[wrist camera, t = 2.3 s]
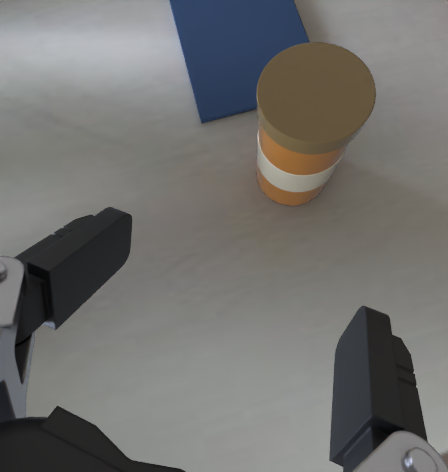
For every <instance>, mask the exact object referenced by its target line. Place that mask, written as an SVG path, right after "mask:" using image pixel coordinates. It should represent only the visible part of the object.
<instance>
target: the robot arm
mask: <svg viewBox="0 0 448 472" xmlns="http://www.w3.org/2000/svg"><path fill="white" fill-rule="evenodd" d="M131 231H132V216H131V215H130V214H128V213H126V212H123V211H120V210H118V209H115V208H113V207H108V208H106V209H104V210H103V211H101V212H100V213H98V214H97V215H95V216H93V215H88V216H85V217H81V218H78V219H75V220H73V221H72V222H70V223H69V224H67V225H65V226H64V228H61V229H59V230H57V231H56V232H54V234H53V235H52V234H51V235H49V236H48V237H46V238H45V239H43V240H41V241H40V242H38V243H37V244H35V245H33V246H32V247H30V248H29V249H27V250H25V251H24V252H22V253H21V254H19V255H17V256H16V257H14V258H12V257H8V256H0V472H185V471H183V470H181V469H178V468H172V467H166V466H161V465H155V464H149V463H144V462H138V461H133V460H131V459H129V458H128V457H126V456H125V455H124V454H123V453H122V452H121V451H120V450H119V449H118V448H117V447H116V446H115V445H114V444H113V442H112V441H111V440H110V439H109V438H108V437H107V436H106V435H105V434H104V433H103V432H102V431H101V430H100V429H99V428H98V427H97V426H96V425H94V424H92V423H90V422H88V421H86V420H84V419H82V418H80V417H78V416H76V415H74V414H72V413H70V412H68V411H66V410H65V409H63V408H61V407H59V406H57V407H56V408H55V409H54V411H53V412H52V413H51V414H50V415H49V417H48V418H47V417H26V393H27V385H28V379H29V372H30V366H31V360H32V353H33V347H34V340H35V330H36V329H37V328H39V327H40V326H41V325H42V324H44V325H46V326H48V327H50V328H52V329H54V330H56V329H57V328H58V327H59V326H61V325H62V324H63V323H64V322H65V321H66V320H67V319H68V318H69V317H70V316H71V315H72V314H73V313H74V312H75V311H76V310H77V309H78V308H79V307H80V306H81V305H82V304H83V303H85V302H86V301H87V300H88V299H89V298H90V297H91V296H92V295H93V294H94V293H95V292H96V291H97V290H98V289H99V288H100V287H101V286H102V285H103V284H104V283H105V282H106V281H107V280H109V279H110V278H111V277H112V276H113V275H114V274H115V273H116V272H117V271H118V270H119V269H120V268H121V267H122V266H123V265H124V264H125V262H126V260H127V258H128V256H129V253H130V246H131ZM413 372H414V369H413V364H412V359H411V354H410V353H409V351H408V349H407V348H406V346H405V344H404V343H403V341H402V339H401V338H399V337H396V336H394V335H392V331H391V324H390V318H389V316H388V315H386V314H384V313H381V312H379V311H376V310H374V309H371V308H368V307H366V306H361V307H360V308H359V310H358V311H357V313H356V314H355V316H354V317H353V319H352V320H351V322H350V323H349V325H348V326H347V328H346V330H345V331H344V333H343V334H342V336H341V337H340V339H339V342H338V344H337V348H336V352H335V363H334V382H333V401H332V420H331V439H330V458H329V460H330V461H332V462H334V463H336V464H338V465H340V466H342V467H343V472H448V466H447V465H446V463H445V461H444V460H443V459H442V457H441V456H440V454H439V453H438V452H437V451H436V450H435V449H434V448H433V447H432V446H431V445H430V444H429V443H428V441H427V436H426V431H425V426H424V421H423V415H422V410H421V405H420V400H419V395H418V390H417V388H416V379H415V374H413Z"/></svg>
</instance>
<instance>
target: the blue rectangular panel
mask: <svg viewBox="0 0 448 472" xmlns="http://www.w3.org/2000/svg"><path fill="white" fill-rule="evenodd" d="M170 4H171V8H172V12H173V16H174V19H175V23H176V27H177V31H178V35H179V39H180V42H181V46H182V50H183V54H184V58H185V62H186V65H187V69H188V73H189V77H190V81H191V85H192V89H193V92H194V96H195V100H196V104H197V108H198V112H199V115H200V119H201V123H204V122H208V121H211V120H215V119H219V118H223V117H226V116H230V115H234V114H238V113H242V112H245V111H249V110H253V109H256V93H257V84H258V80H259V77H260V75H261V73H262V71H263V69H264V68H265V66H266V65H267V64H268V62H269V61H270V60H271V59H272V58H273V57H275V56H276V55H277V54H279V53H280V52H282V51H283V50H285V49H287V48H290V47H292V46H295V45H298V44H303V43H309V40H308V37H307V35H306V32H305V29H304V27H303V24H302V22H301V19H300V16H299V14H298V11H297V9H296V6H295V3H294V1H293V0H170Z"/></svg>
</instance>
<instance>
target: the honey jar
mask: <svg viewBox="0 0 448 472" xmlns="http://www.w3.org/2000/svg"><path fill="white" fill-rule="evenodd" d="M375 98H376V89H375V83H374V80H373V77H372V75H371V73H370V71H369V69H368V68H367V66H366V65H365V64H364V62H363V61H362V60H361V59H360V58H358V57H357V56H356V55H355V54H353V53H352V52H350V51H349V50H347V49H344V48H342V47H340V46H337V45H334V44H329V43H322V42H310V43H303V44H298V45H295V46H292V47H290V48H287V49H285V50H283V51H282V52H280V53H279V54H277V55H276V56H275V57H273V58H272V59H271V60H270V61H269V62H268V64H267V65H266V66H265V68H264V69H263V71H262V73H261V75H260V77H259V80H258V84H257V93H256V111H257V116H258V120H259V128H258V136H257V172H256V174H257V181H258V184H259V186H260V188H261V189H262V191H263V192H264V193H265V194H266V195H267V196H268V197H269V198H270V199H272V200H273V201H275V202H277V203H280V204H284V205H301V204H304V203H307V202H309V201H311V200H312V199H314V198H315V197H316V196H317V195H318V194H319V193H320V192H321V191H322V189H323V188H324V186H325V184H326V182H327V181H328V179H329V178H330V176H331V175H332V173H333V172H334V170H335V168H336V167H337V165H338V163H339V161H340V160H341V158H342V156H343V155H344V153H345V150H346V148H347V146H348V144H349V143H350V142H351V141H352V140H353V139H354V138H355V137H356V136H357V135H358V134H359V132H360V131H361V129H362V128H363V126H364V125H365V123H366V121H367V120H368V118H369V116H370V114H371V112H372V110H373V107H374V104H375Z"/></svg>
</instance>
